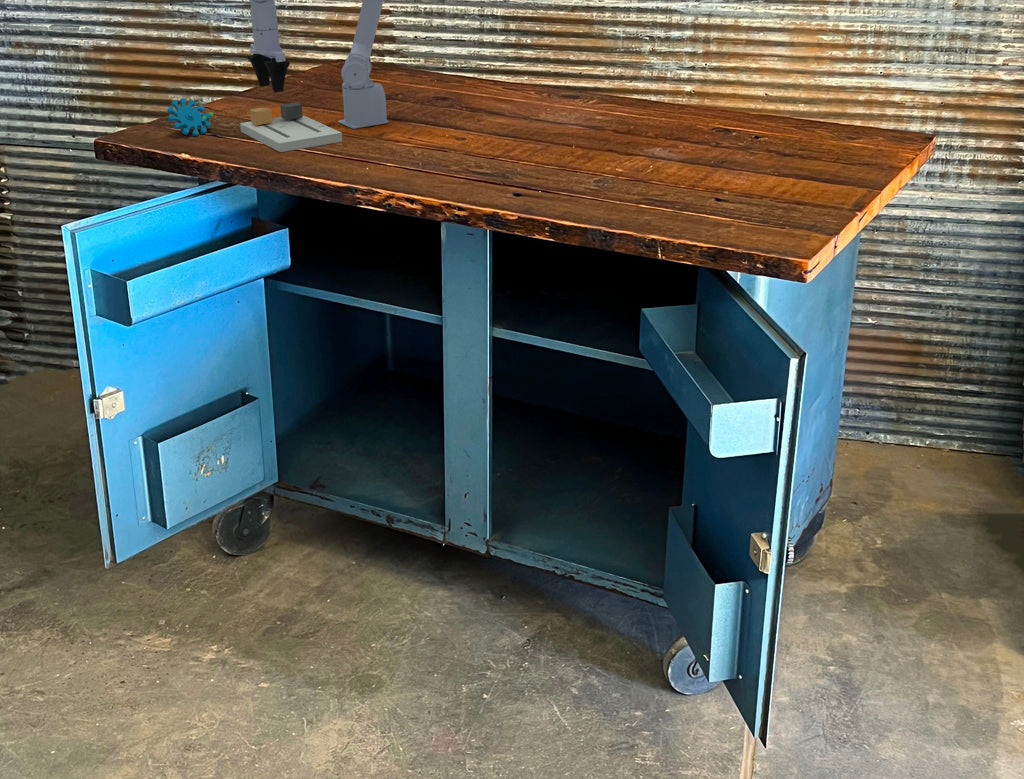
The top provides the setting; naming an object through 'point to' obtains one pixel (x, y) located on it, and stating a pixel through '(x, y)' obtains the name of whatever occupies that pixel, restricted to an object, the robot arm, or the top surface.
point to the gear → (189, 117)
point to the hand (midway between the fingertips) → (271, 88)
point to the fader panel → (292, 133)
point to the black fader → (291, 111)
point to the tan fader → (261, 116)
